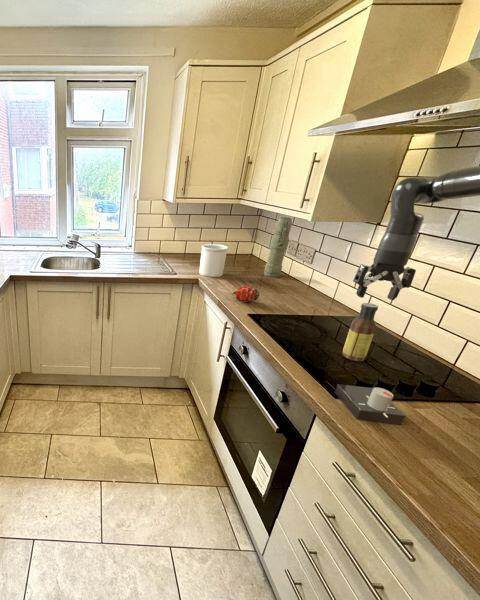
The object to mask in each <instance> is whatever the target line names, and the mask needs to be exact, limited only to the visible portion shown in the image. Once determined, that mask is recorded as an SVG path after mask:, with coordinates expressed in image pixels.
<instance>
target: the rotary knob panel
mask: <svg viewBox="0 0 480 600" xmlns="http://www.w3.org/2000/svg"><path fill="white" fill-rule="evenodd" d="M373 388H374V387H368V386H367V387H366V386H357V385H349V384H340V383H337V385H336V386H335V390H334V394H335V395H336V396H337V398H338V399H339V400H340V401H341V402H342V404H343V405H344V406H345V407H346V409H348V411H349V412H350V413H351V414H352V415H353V417H354V418H355V419H356V420H360V421H369V422H375V423H384V424H391V425H397V426H402V425H403V422H404V421H405V419H406V414H405V413H403V412H402V411H401V410H400V409H399V408H398V407H397V406H396V405H395V404H394V403H393V402H392V401H391V403H390V405H389V407H388V409H387V411H384V412H383V411H378V410H375V409H373V408H371V407H370V406H369V405H368V404H367V401H368V399H369V396H370V394H371V392H372V390H373Z"/></svg>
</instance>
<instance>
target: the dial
mask: <svg viewBox="0 0 480 600" xmlns="http://www.w3.org/2000/svg"><path fill="white" fill-rule="evenodd" d="M372 388H373V390H372V392H371V394H370V396H369V399H368V401H367V404H368V405H369V406H370V407H371V408H373V409H375V410H378V411H383V412H384V411H387V409H388V407H389V405H390V403H391V402H392V400H393V399H394V394H393V393H392V392H391V391H389V390H387V389H385V388H382V387H378V386H377V387H372Z"/></svg>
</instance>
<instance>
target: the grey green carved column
mask: <svg viewBox="0 0 480 600" xmlns="http://www.w3.org/2000/svg"><path fill="white" fill-rule="evenodd" d="M292 225H293V219H292V218H291V217H284V216H282V217H279V218H278V220H277V222H276V225H275V228H274V229H275V230H274V231H275V232H274V233H273V236H272V237H271V241H270V246H269V248H270V249H269V253H268V257H267V262H266V263H265V265H264V272H263V276H265V277H267V278H273V279H274V278H275V279H276V278H277V279H278V278H280V276H281V273H282V269H283V261H284V259H285V254H286V250H287V249H288V245H289V242H290V232H291V230H292Z"/></svg>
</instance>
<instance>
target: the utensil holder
mask: <svg viewBox="0 0 480 600" xmlns="http://www.w3.org/2000/svg"><path fill="white" fill-rule="evenodd" d="M228 250H229V247H228V246H226V245H224V244H218V243H205V244H202V245H201V253H200V261H199V272H198V273H199V275H201V276H203V277H210V278H219V277H222V276H223V274H224V269H225V265H226V264H225V263H226V258H227V253H228Z"/></svg>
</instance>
